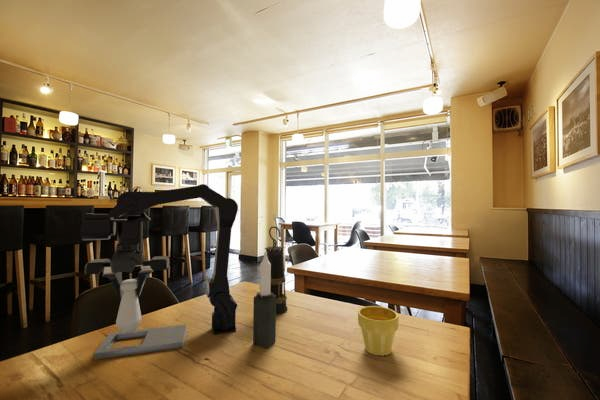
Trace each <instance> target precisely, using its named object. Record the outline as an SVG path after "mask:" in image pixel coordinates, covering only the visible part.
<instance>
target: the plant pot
mask: <svg viewBox="0 0 600 400" xmlns="http://www.w3.org/2000/svg"><path fill="white" fill-rule="evenodd" d="M357 324H358V326H359V327H360V329H361V333H362V338H363V343H364V349H365V350H366V352H368V353H369V354H371V355H373V354H374V356H377V355H381V356H380V357H385V356H384V355H386V356H388V354H389V355H390V354H391V352H392V350H393V344H394V339H395V335H396V332H397V331H398V330H399V315H398V313H397V312H396V311H395V310H393V309H391V308H389V307H386V306H379V305H378V306H377V305H371V306H370V305H368V306H363V307H360V308H359V309H358V311H357ZM382 355H383V356H382Z"/></svg>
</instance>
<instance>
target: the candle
mask: <svg viewBox="0 0 600 400" xmlns="http://www.w3.org/2000/svg"><path fill="white" fill-rule="evenodd" d="M270 286H271V264H270V262H269V260H268V257H267V252H266V251H264V253H263V258H262V261H261V262H260V265H259V291H258V292H257V293H256V295H255V296H254V297H253V314H252V315H253V317H252V318H253V324H252V329H253V330H252V345H253V346H255V347H260V348H263V349H268V348H271V347H272V346H273V345H274V344H275V343H276V337H277V336H276V332H277V331H276V329H277V328H276V326H277V324H276V322H277V315H276V295H274V294H273V293H272V292H270Z"/></svg>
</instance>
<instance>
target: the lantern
mask: <svg viewBox="0 0 600 400" xmlns="http://www.w3.org/2000/svg"><path fill="white" fill-rule="evenodd" d="M272 229H276V230H277V231H278V237H281V230H280V229H279V228H278V226H271V227H269V230H268V235H269V238H271V240H272V243H273V244H272V246H268V247H264V250H265V252H267V257H268V260H269V262H270V264H271V286H270V292H272V293H273V294H274V295H276V316H279V315H283V313H284V314H285V313H287V312H288V306H287V299H288V297H287V295H286V277H285V267H284V251H283V250H284V248H285V247H284V246H279V245H278V246H277V244H278V243H277V240H276V239H275V238H274V237H272V234H271V230H272ZM286 311H287V312H286Z"/></svg>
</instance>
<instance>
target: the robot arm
mask: <svg viewBox="0 0 600 400" xmlns="http://www.w3.org/2000/svg"><path fill="white" fill-rule="evenodd" d="M193 199H201V200H203V201H204V202H206V203H207V204H208V205H210V206H212V207H213V208H214V209H215V219H216V225H217V231H216V242H215V253H214V262H213V273H212V275H211V278H209V277H207V278H206V286H205V290H204V291H205V295H206V298H208V300H209V302H210V304H211V305H212V306H213V312H211V330H213V334H214V335H216V334H217V335H218V334H225V333H232V332H237V326H236V319H237V318H236V313H237V312H236V311H237V307H238V304H237V302H236V300H235V299H234V297H233V296H232V295H231V293H230V285H229V284H230V283H229V279H228V269H229V259H230V248H231V247H230V246H231V236H232V228H233V226H234V224H235V220H236V217H237V214H238V210H239V205H238V203H237V202H236V200H235V199H233V198H230V197H225V196H223V195H222V194H220V193H219V192H217V191H215V190H214V189H212V188H210V186H208V185H207V184H204V183H201V184H199V185H193V186H186V187H180V188H174V189H167V190H160V191H124V192H122V193H121V194H119V195H118V197H117V198H116V205H115V206H114V207H113V208H112V209H111V210H110V211H109V213H92V212H91V213H90V212H89V213H88V212H87V213H84V214H83V220H82V223H81V226H80V238H81V240H82V241H99V240H101V241H103V240H110V239H111V237H112V236H115V235H116V233H117V244H116V247H115V252H114V253H113V255H112V256H111V258H97V259H96V258H95V259H91V260H90V261H89V262H86V264H85V266H84V275H99V274H100V273H102V271H103V274H101V275H102V277H105V278H107V279H109V280H110V282H111V283H112V285H113V288H114V290H115V292H116V295H117V297H118V299H121V298H122V294H123V291H122V290H121V289H120V283H121V282H122V281H123V275H122V274H123V273H124V272H125V273H132V272H133V271H134V270H135V269H136V268H137V269H138V268H139V269H140V271H139V272H138V288H137V289H136V290H137V297H138V298H139V297H140V296H141V293H142V290H143V287H144V285H145V283H146V280H147V278H148V277H149V275H150V274H152V273H153V272H154V271H166V270H168V268H169V266H170V257H169V256H168V255H164V256H163V255H159V256H153V257H152V258H151V259H145V253H144V250H143V244H144V243H143V241H144V240H143V234H144V233H143V232H144V231H143V230H144V228H143V225H144V222H150V221H151V217H149V216H148V215H147V214H146V212H142V213H141V214H140V215H139V214H137V215H134V213H137V212H140V211H143V210H146V209H149V208H153V207H155V206H159V205H164V204H170V203H177V202H182V201H188V200H193ZM126 214H128V215H127V216H126V217H127V218H125V219H124V218H122V219H121V218H120V217H123V216H125V215H126ZM130 214H131V215H130ZM132 214H133V215H132ZM117 218H120V219H117ZM116 230H117V231H116Z"/></svg>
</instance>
